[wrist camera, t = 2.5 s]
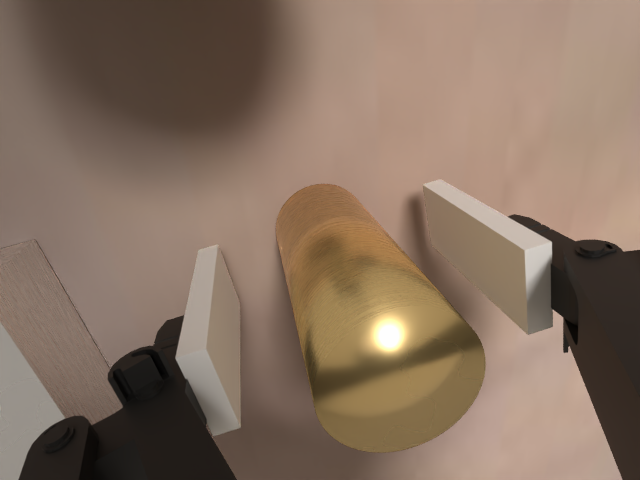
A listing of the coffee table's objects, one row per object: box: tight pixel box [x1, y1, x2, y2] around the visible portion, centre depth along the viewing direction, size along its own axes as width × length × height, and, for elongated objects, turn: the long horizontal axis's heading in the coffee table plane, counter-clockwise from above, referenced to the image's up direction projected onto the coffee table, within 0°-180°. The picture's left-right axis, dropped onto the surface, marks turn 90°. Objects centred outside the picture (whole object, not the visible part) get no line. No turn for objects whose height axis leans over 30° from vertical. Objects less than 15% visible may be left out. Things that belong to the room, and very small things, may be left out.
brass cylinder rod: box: [276, 184, 485, 453], centre depth 14 cm, size 4×4×10 cm
